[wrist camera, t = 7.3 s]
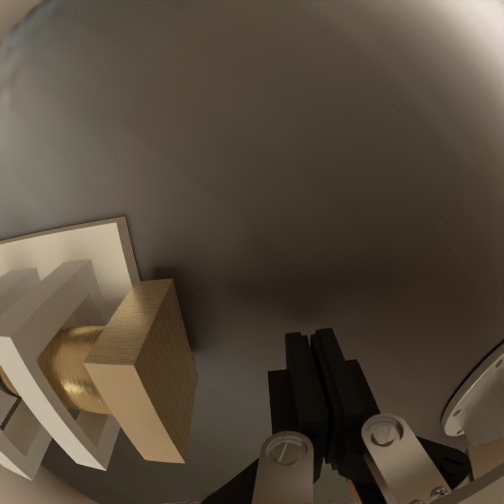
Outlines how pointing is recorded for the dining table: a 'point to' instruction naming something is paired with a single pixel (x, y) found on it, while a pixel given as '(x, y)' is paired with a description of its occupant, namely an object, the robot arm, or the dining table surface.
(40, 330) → the white slotted holder
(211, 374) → the dining table surface
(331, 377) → the robot arm
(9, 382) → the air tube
